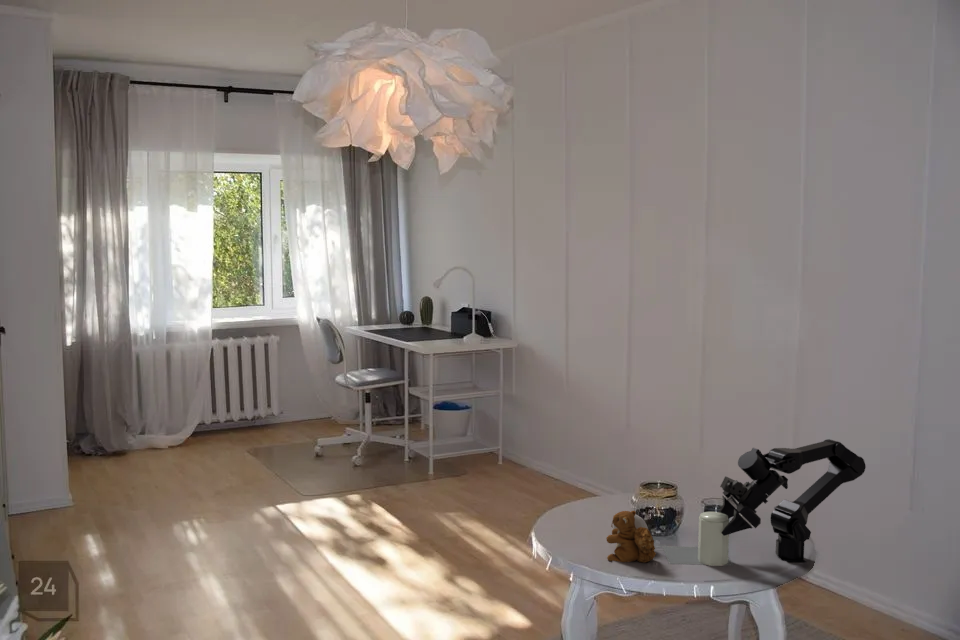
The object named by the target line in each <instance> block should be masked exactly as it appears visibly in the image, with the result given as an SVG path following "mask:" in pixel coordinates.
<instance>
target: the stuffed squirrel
mask: <svg viewBox="0 0 960 640" xmlns="http://www.w3.org/2000/svg"><path fill="white" fill-rule="evenodd" d="M636 513H637V512H636V511H635V510H631V511H629V510H621V511H618V512H617V513H615V514H614V515H613V518H612V521H611V528H612V530H611V534H609V535H607V537H606V542H607V543H608V544H616V545H615V549H614V552H613V553H610V554H608V555H607V558H606V559H607V561H609V562H614V561H615V562H620V563H632V562H638V563H649V562H650V561H652V560H653V559H654V558H655V557H656V555H657V553H656V551H655V550H656V546H655V540H654V537H653V535H652V534H651V531H650V530H649V528H648V529H647V528H645V527H644V528H643V527H640V528H638V529H636V527H635V518H634V516H635V514H636ZM636 515H637V514H636ZM614 526H615V527H616V528H615V529H613V527H614Z"/></svg>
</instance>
